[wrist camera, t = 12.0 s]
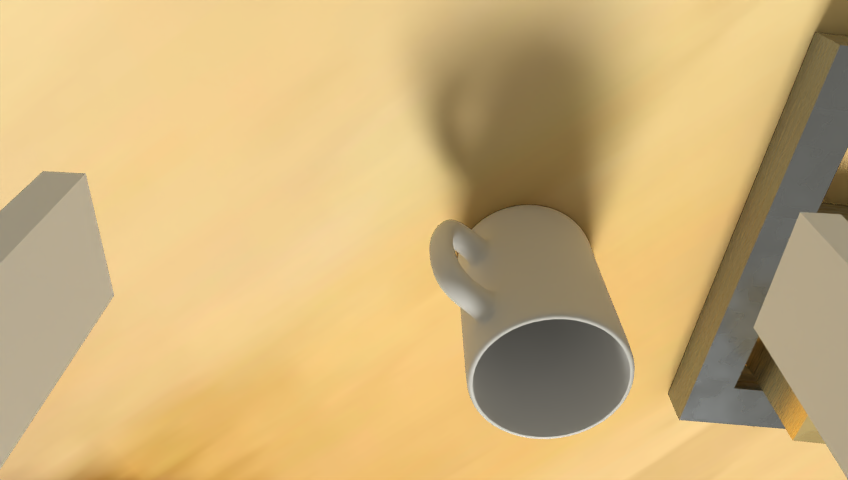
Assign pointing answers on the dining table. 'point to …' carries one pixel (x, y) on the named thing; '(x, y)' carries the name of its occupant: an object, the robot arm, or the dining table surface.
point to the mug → (534, 322)
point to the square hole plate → (766, 243)
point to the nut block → (781, 395)
